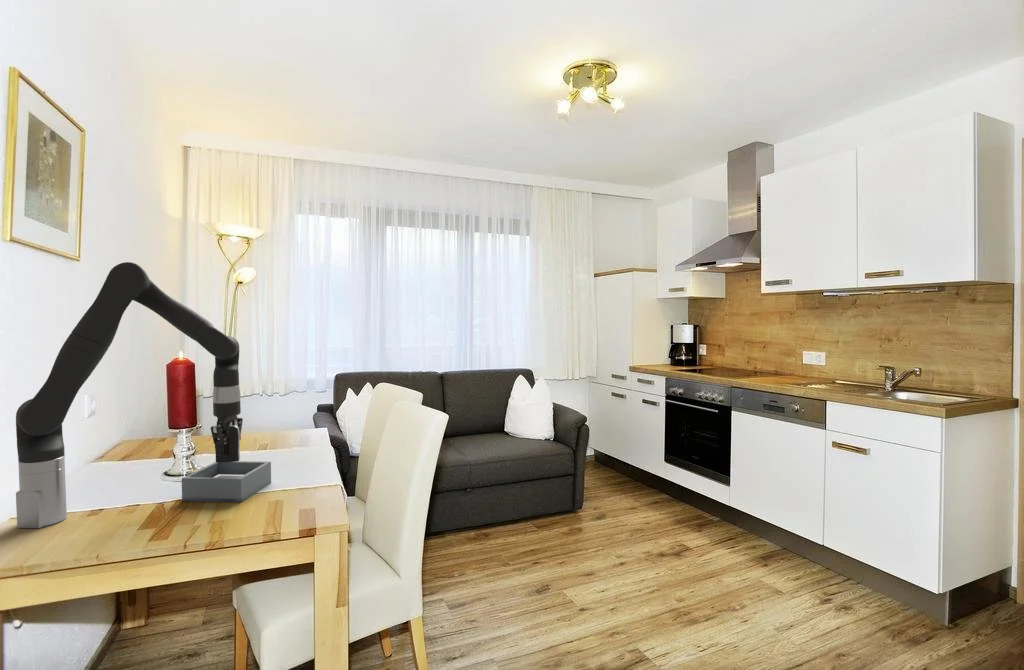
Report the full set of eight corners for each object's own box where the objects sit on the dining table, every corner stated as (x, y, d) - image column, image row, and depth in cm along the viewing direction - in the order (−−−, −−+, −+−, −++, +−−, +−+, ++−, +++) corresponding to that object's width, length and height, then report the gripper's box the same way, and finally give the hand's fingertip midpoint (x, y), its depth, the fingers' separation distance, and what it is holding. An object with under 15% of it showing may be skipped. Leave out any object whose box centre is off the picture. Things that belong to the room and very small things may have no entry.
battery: (242, 458, 167) (241, 423, 166) (239, 462, 163) (238, 426, 162) (218, 459, 165) (217, 424, 165) (214, 463, 162) (213, 427, 161)
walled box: (241, 502, 155) (241, 479, 155) (182, 501, 156) (181, 478, 155) (271, 482, 173) (270, 461, 173) (217, 481, 174) (217, 460, 173)
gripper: (225, 404, 156) (226, 460, 157) (250, 396, 170) (251, 448, 171) (200, 404, 156) (202, 460, 157) (228, 396, 170) (229, 448, 171)
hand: (228, 453), depth 164 cm, fingers closed on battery, 4 cm apart
